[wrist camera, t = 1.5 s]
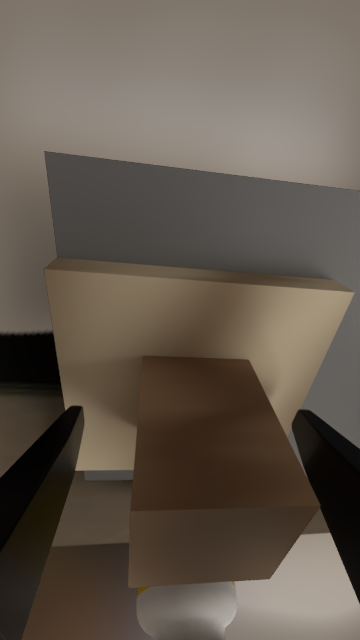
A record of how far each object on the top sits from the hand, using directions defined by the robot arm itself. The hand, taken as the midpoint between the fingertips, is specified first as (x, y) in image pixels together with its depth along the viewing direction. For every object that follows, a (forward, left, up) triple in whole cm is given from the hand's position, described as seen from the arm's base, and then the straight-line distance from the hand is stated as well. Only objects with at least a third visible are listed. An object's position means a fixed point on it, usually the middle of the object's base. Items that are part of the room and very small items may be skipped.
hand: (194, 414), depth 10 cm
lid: (0, 0, -2) cm, 2 cm away
